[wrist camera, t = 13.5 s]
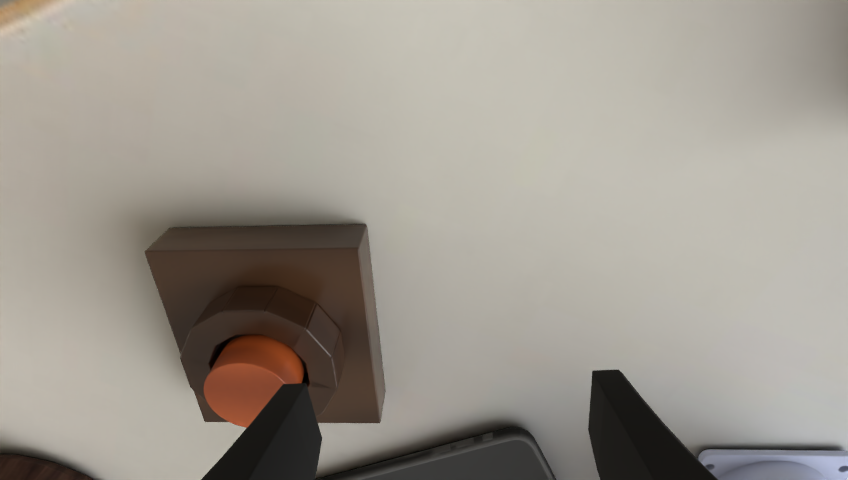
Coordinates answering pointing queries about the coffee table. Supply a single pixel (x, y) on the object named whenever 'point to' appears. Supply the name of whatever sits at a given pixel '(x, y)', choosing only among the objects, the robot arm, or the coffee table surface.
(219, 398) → the button
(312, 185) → the coffee table surface
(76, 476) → the mug
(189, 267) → the button block
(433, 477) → the smartphone
